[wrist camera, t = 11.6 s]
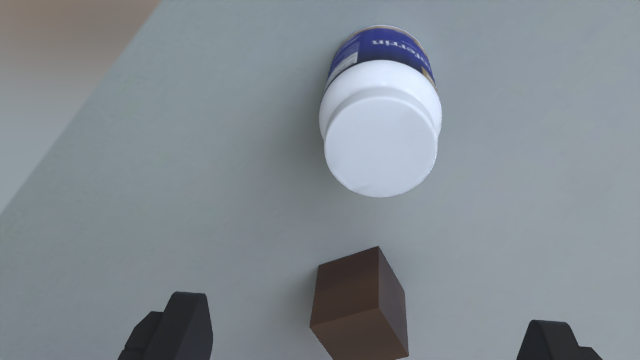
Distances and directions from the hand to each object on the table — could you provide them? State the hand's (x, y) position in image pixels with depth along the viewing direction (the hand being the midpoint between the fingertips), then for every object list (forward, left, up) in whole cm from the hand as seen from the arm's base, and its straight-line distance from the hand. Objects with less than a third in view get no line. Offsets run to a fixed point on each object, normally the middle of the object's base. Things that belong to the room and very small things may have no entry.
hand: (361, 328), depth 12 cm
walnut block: (+16, -4, -19) cm, 25 cm away
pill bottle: (0, +1, -19) cm, 19 cm away
